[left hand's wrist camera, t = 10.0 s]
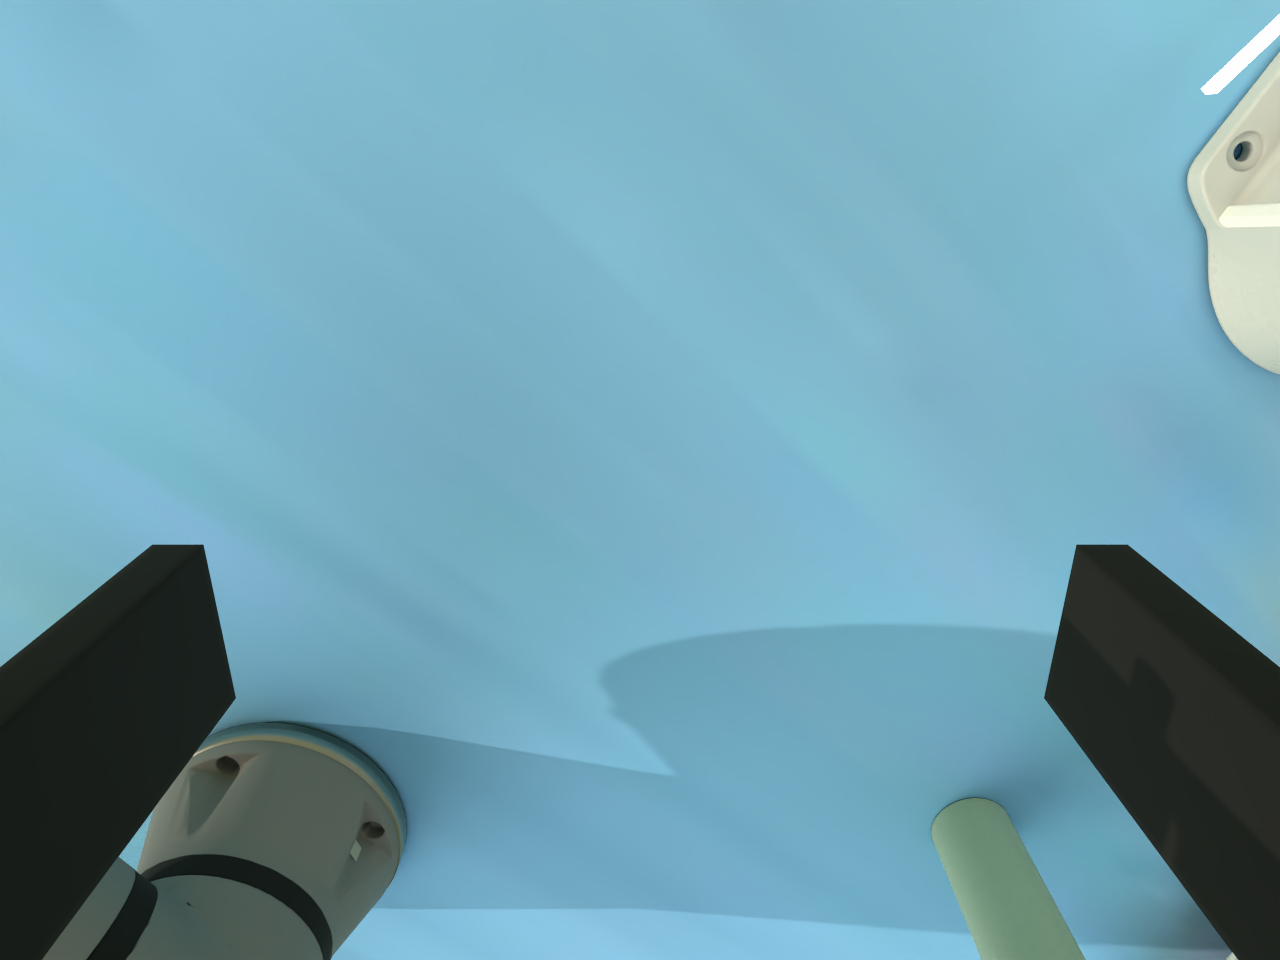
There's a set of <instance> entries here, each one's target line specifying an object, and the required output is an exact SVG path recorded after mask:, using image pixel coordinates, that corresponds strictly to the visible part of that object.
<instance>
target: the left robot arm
mask: <svg viewBox="0 0 1280 960" xmlns="http://www.w3.org/2000/svg"><path fill="white" fill-rule="evenodd" d="M235 698H236V697H235V692H234V687H233V683H232V678H231V673H230V668H229V664H228V659H227V654H226V649H225V645H224V640H223V635H222V630H221V626H220V621H219V616H218V612H217V607H216V602H215V597H214V593H213V588H212V583H211V578H210V574H209V569H208V564H207V559H206V555H205V550H204V545H152V546H150V547H149V548H148V549H147V550H145V551H144V552H143V553H142V554H140V555H139V556H138V557H137V558H135V559H134V560H133V561H132V562H130V563H129V564H128V565H127V566H125V567H124V568H123V569H122V570H120V571H119V572H118V573H117V574H116V575H114V576H113V577H112V578H111V579H109V580H108V581H107V582H106V583H104V584H103V585H102V586H101V587H99V588H98V589H97V590H96V591H94V592H93V593H92V594H91V595H89V596H88V597H87V598H86V599H84V600H83V601H82V602H81V603H80V604H78V605H77V606H76V607H75V608H73V609H72V610H71V611H70V612H68V613H67V614H66V615H65V616H63V617H62V618H61V619H60V620H58V621H57V622H56V623H55V624H53V625H52V626H51V627H50V628H48V629H47V630H46V631H45V632H44V633H42V634H41V635H40V636H39V637H37V638H36V639H35V640H34V641H32V642H31V643H30V644H29V645H27V646H26V647H25V648H24V649H22V650H21V651H20V652H19V653H17V654H16V655H15V656H14V657H12V658H11V659H10V660H9V661H7V662H6V663H5V664H4V665H3V666H1V667H0V960H331V958H332V956H333V954H334V953H335V952H336V951H337V950H338V948H339V947H340V946H341V945H342V944H343V942H344V941H345V940H346V939H347V938H348V936H349V935H350V934H351V933H352V931H353V930H354V929H355V928H356V927H357V925H358V924H359V923H360V922H361V921H362V919H363V918H364V917H365V916H366V915H367V913H368V912H369V911H370V910H371V908H372V907H373V906H374V905H375V904H376V902H377V901H378V900H379V899H380V898H381V896H382V895H383V893H384V892H385V890H386V889H387V887H388V886H389V885H390V883H391V881H392V879H393V878H394V875H395V873H396V870H397V867H398V865H399V862H400V859H401V856H402V853H403V850H404V846H405V842H406V834H407V825H406V817H405V813H404V809H403V806H402V803H401V800H400V798H399V796H398V794H397V792H396V790H395V788H394V787H393V785H392V784H391V782H390V781H389V779H388V778H387V777H386V776H385V774H384V773H383V772H382V771H381V770H380V769H379V768H378V767H377V766H376V765H375V764H374V763H373V762H372V761H371V760H370V759H369V758H367V757H366V756H365V755H364V754H362V753H361V752H359V751H358V750H357V749H355V748H353V747H352V746H350V745H349V744H347V743H345V742H343V741H341V740H339V739H337V738H335V737H333V736H330V735H328V734H326V733H323V732H320V731H317V730H314V729H310V728H306V727H302V726H297V725H291V724H283V723H252V724H246V725H239V726H236V727H232V728H228V729H225V730H222V731H220V732H217V733H215V734H213V735H211V736H209V737H207V736H208V735H209V734H210V732H211V731H212V730H213V728H214V727H215V725H216V724H217V723H218V721H219V720H220V719H221V717H222V716H223V715H224V713H225V712H226V711H227V709H228V708H229V707H230V705H231V704H232V702H233V701H234V700H235ZM1044 698H1045V700H1046V701H1047V702H1048V704H1049V705H1050V707H1051V708H1052V709H1053V711H1054V712H1055V713H1056V715H1057V716H1058V717H1059V719H1060V720H1061V721H1062V723H1063V724H1064V725H1065V727H1066V728H1067V730H1068V731H1069V732H1070V734H1071V735H1072V736H1073V738H1074V739H1075V740H1076V742H1077V743H1078V744H1079V746H1080V747H1081V748H1082V750H1083V751H1084V752H1085V754H1086V755H1087V757H1088V758H1089V759H1090V761H1091V762H1092V763H1093V765H1094V766H1095V767H1096V769H1097V770H1098V771H1099V773H1100V774H1101V775H1102V777H1103V778H1104V779H1105V781H1106V782H1107V784H1108V785H1109V786H1110V788H1111V789H1112V790H1113V792H1114V793H1115V794H1116V796H1117V797H1118V798H1119V800H1120V801H1121V802H1122V804H1123V805H1124V806H1125V808H1126V809H1127V811H1128V812H1129V813H1130V815H1131V816H1132V817H1133V819H1134V820H1135V821H1136V823H1137V824H1138V825H1139V827H1140V828H1141V829H1142V831H1143V832H1144V833H1145V835H1146V836H1147V838H1148V839H1149V840H1150V842H1151V843H1152V844H1153V846H1154V847H1155V848H1156V850H1157V851H1158V852H1159V854H1160V855H1161V856H1162V858H1163V859H1164V861H1165V862H1166V863H1167V865H1168V866H1169V867H1170V869H1171V870H1172V871H1173V873H1174V874H1175V875H1176V877H1177V878H1178V879H1179V881H1180V882H1181V883H1182V885H1183V886H1184V888H1185V889H1186V890H1187V892H1188V893H1189V894H1190V896H1191V897H1192V898H1193V900H1194V901H1195V902H1196V904H1197V905H1198V906H1199V908H1200V909H1201V910H1202V912H1203V913H1204V915H1205V916H1206V917H1207V919H1208V920H1209V921H1210V923H1211V924H1212V925H1213V927H1214V928H1215V929H1216V931H1217V932H1218V933H1219V935H1220V936H1221V937H1222V939H1223V940H1224V942H1225V943H1226V944H1227V946H1228V947H1229V948H1230V950H1231V951H1232V952H1233V954H1234V955H1235V956H1236V958H1237V959H1238V960H1280V667H1279V666H1277V665H1276V664H1275V663H1274V662H1273V661H1271V660H1270V659H1269V658H1268V657H1266V656H1265V655H1264V654H1263V653H1261V652H1260V651H1259V650H1258V649H1256V648H1255V647H1254V646H1253V645H1251V644H1250V643H1249V642H1248V641H1246V640H1245V639H1244V638H1243V637H1241V636H1240V635H1239V634H1238V633H1236V632H1235V631H1234V630H1233V629H1232V628H1230V627H1229V626H1228V625H1227V624H1225V623H1224V622H1223V621H1222V620H1220V619H1219V618H1218V617H1217V616H1215V615H1214V614H1213V613H1212V612H1210V611H1209V610H1208V609H1207V608H1205V607H1204V606H1203V605H1202V604H1200V603H1199V602H1198V601H1197V600H1196V599H1194V598H1193V597H1192V596H1191V595H1189V594H1188V593H1187V592H1186V591H1184V590H1183V589H1182V588H1181V587H1179V586H1178V585H1177V584H1176V583H1174V582H1173V581H1172V580H1171V579H1169V578H1168V577H1167V576H1166V575H1164V574H1163V573H1162V572H1161V571H1160V570H1158V569H1157V568H1156V567H1155V566H1153V565H1152V564H1151V563H1150V562H1148V561H1147V560H1146V559H1145V558H1143V557H1142V556H1141V555H1140V554H1138V553H1137V552H1136V551H1135V550H1133V549H1132V548H1131V547H1130V546H1128V545H1076V550H1075V555H1074V559H1073V564H1072V569H1071V574H1070V578H1069V583H1068V588H1067V593H1066V597H1065V602H1064V607H1063V612H1062V616H1061V621H1060V626H1059V630H1058V635H1057V640H1056V645H1055V649H1054V654H1053V659H1052V664H1051V668H1050V673H1049V678H1048V683H1047V687H1046V692H1045V697H1044ZM153 809H154V810H153ZM152 811H153V814H152V818H151V821H150V825H149V828H148V832H147V836H146V839H145V843H144V846H143V850H142V854H141V857H140V861H139V864H138V868H137V871H135V869H133V868H132V867H131V866H129V865H128V864H127V863H126V862H124V861H123V860H122V859H121V858H119V857H118V856H119V855H120V854H121V852H122V851H123V850H124V848H125V847H126V846H127V844H128V843H129V842H130V840H131V839H132V838H133V836H134V835H135V833H136V832H137V831H138V829H139V828H140V827H141V825H142V824H143V823H144V821H145V820H146V819H147V817H148V816H149V815H150V813H151V812H152Z"/></svg>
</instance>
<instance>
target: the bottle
mask: <svg viewBox="0 0 1280 960" xmlns="http://www.w3.org/2000/svg"><path fill="white" fill-rule="evenodd" d="M931 835H932V840H933V842H934V845H935V847H936V849H937V852H938V854H939V857H940V859H941V862H942V864H943V867H944V869H945V872H946V874H947V876H948V879H949V881H950V884H951V886H952V889H953V891H954V894H955V896H956V899H957V901H958V903H959V906H960V908H961V911H962V913H963V916H964V918H965V921H966V923H967V925H968V928H969V930H970V933H971V935H972V938H973V940H974V943H975V945H976V948H977V950H978V952H979V955H980V957H981V960H1085V958H1084V956H1083V954H1082V952H1081V950H1080V948H1079V947H1078V945H1077V943H1076V941H1075V939H1074V937H1073V935H1072V933H1071V932H1070V930H1069V928H1068V926H1067V924H1066V922H1065V920H1064V919H1063V917H1062V915H1061V913H1060V911H1059V909H1058V907H1057V905H1056V904H1055V902H1054V900H1053V898H1052V896H1051V894H1050V892H1049V891H1048V889H1047V887H1046V885H1045V883H1044V881H1043V879H1042V877H1041V876H1040V874H1039V872H1038V870H1037V868H1036V866H1035V864H1034V863H1033V861H1032V859H1031V857H1030V855H1029V853H1028V851H1027V849H1026V848H1025V846H1024V844H1023V842H1022V840H1021V838H1020V836H1019V835H1018V833H1017V831H1016V829H1015V827H1014V825H1013V823H1012V821H1011V820H1010V818H1009V816H1008V814H1007V812H1006V811H1005V810H1004V809H1003V808H1002V807H1001V806H1000V805H999V804H997V803H995V802H993V801H990V800H987V799H982V798H969V799H964V800H960V801H957V802H955V803H952V804H951V805H949V806H947V807H946V808H944V809H943V810H942V811H941V812H940V813H939V814H938V815H937V817H936V818H935V820H934V822H933V825H932V830H931Z"/></svg>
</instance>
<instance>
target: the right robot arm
mask: <svg viewBox="0 0 1280 960" xmlns="http://www.w3.org/2000/svg"><path fill="white" fill-rule="evenodd" d="M1279 34H1280V14H1279V15H1278V16H1277V17H1276V18H1275V19H1274V20H1273V21H1272V22H1271V23H1270V24H1269V25H1268V26H1267V27H1266V28H1265V29H1264V30H1263V31H1261V32H1260V33H1259V34H1258V35H1257V36H1256V37H1255V38H1254V39H1253V40H1252V41H1251V42H1250V43H1249V44H1248V45H1247V46H1246V47H1245V48H1244V49H1243V50H1241V51H1240V52H1239V53H1238V54H1237V55H1236V56H1235V57H1234V58H1233V59H1232V60H1231V61H1230V62H1229V63H1228V64H1227V65H1226V66H1225V67H1224V68H1223V69H1221V70H1220V71H1219V72H1218V73H1217V74H1216V75H1215V76H1214V77H1213V78H1212V79H1211V80H1210V81H1209V82H1208V83H1207V84H1206V85H1205V86H1204V87H1203V88H1201V89H1202V91H1203V92H1204V93H1205V94H1215V93H1218V92H1219V91H1220V90H1221V89H1222V88H1223V87H1224V86H1225V85H1226V84H1227V83H1228V82H1230V81H1231V80H1232V79H1233V78H1234V77H1235V76H1236V75H1237V74H1238V73H1239V72H1240V71H1241V70H1242V69H1243V68H1244V67H1245V66H1247V65H1248V64H1249V63H1250V62H1251V61H1252V60H1253V59H1254V58H1255V57H1256V56H1257V55H1258V54H1259V53H1260V52H1261V51H1262V50H1263V49H1265V48H1266V47H1267V46H1268V45H1269V44H1270V43H1271V42H1272V41H1273V40H1274V39H1275V38H1276V37H1277V36H1278V35H1279ZM1239 143H1241V144H1242V146H1243V151H1242V154H1241V156H1240V157H1239V158H1238V159H1237V160H1235V158H1234V154H1233V153H1234V149H1235V147H1236V146H1237V145H1238V144H1239ZM1187 186H1188V191H1189V195H1190V198H1191V200H1192V203H1193V205H1194V207H1195V210H1196V212H1197V214H1198V216H1199V218H1200V220H1201V222H1202V224H1203V225H1204V227H1205V229H1206V234H1207V240H1208V280H1209V289H1210V295H1211V299H1212V304H1213V307H1214V310H1215V313H1216V316H1217V318H1218V320H1219V323H1220V325H1221V327H1222V328H1223V330H1224V332H1225V333H1226V335H1227V336H1228V338H1229V339H1230V341H1231V342H1232V343H1233V344H1234V345H1235V347H1236V348H1237V349H1238V350H1239V351H1240V352H1241V353H1242V354H1244V355H1245V356H1246V357H1247V358H1248V359H1250V360H1251V361H1253V362H1254V363H1256V364H1257V365H1259V366H1261V367H1262V368H1264V369H1266V370H1268V371H1271V372H1273V373H1275V374H1278V375H1280V52H1279V53H1278V54H1277V55H1276V57H1275V58H1274V59H1273V61H1272V62H1271V63H1270V64H1269V66H1268V67H1267V68H1266V69H1265V71H1264V72H1263V73H1262V75H1261V76H1260V77H1259V78H1258V80H1257V81H1256V82H1255V83H1254V85H1253V86H1252V87H1251V88H1250V90H1249V91H1248V92H1247V94H1246V95H1245V96H1244V97H1243V99H1242V100H1241V101H1240V102H1239V104H1238V105H1237V106H1236V107H1235V109H1234V110H1233V111H1232V113H1231V114H1230V115H1229V116H1228V118H1227V119H1226V120H1225V121H1224V123H1223V124H1222V125H1221V126H1220V128H1219V129H1218V130H1217V132H1216V133H1215V134H1214V135H1213V137H1212V138H1211V139H1210V140H1209V142H1208V143H1207V144H1206V146H1205V147H1204V148H1203V149H1202V151H1201V152H1200V153H1199V154H1198V156H1197V157H1196V158H1195V160H1194V161H1193V163H1192V165H1191V167H1190V169H1189V172H1188V177H1187ZM1225 960H1238V959H1237V958H1236V956H1235V955H1234V954H1233V952H1232V953H1231V954H1230V955H1229V956H1228V957H1227V958H1226V959H1225Z"/></svg>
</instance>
